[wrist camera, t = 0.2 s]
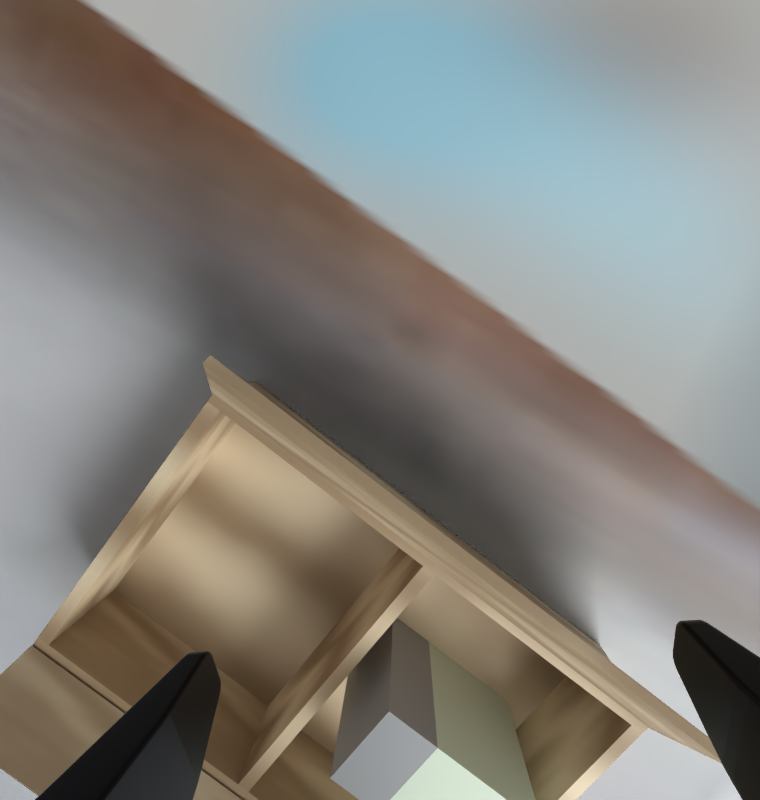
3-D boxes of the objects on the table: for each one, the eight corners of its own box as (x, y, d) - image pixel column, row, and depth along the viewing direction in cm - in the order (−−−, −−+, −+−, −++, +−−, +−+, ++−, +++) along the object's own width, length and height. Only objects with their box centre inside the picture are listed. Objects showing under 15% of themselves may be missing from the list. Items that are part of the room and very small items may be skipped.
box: (461, 749, 25) (481, 890, 18) (349, 666, 25) (329, 778, 18) (506, 700, 24) (543, 827, 18) (393, 614, 24) (388, 711, 18)
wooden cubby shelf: (408, 850, 26) (410, 1072, 18) (86, 612, 26) (-60, 733, 18) (624, 621, 24) (736, 760, 16) (276, 352, 23) (207, 355, 15)
